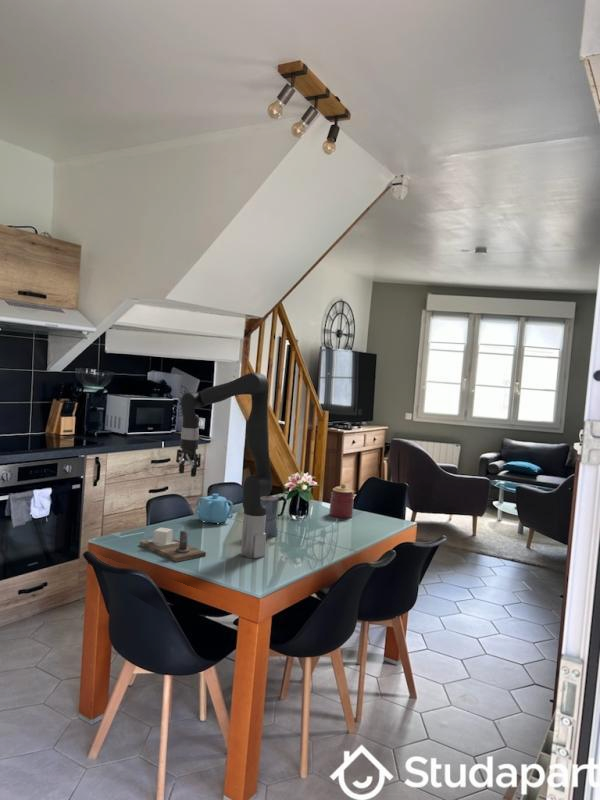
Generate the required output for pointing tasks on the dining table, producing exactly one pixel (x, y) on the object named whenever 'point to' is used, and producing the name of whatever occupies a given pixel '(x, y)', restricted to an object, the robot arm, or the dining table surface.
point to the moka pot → (271, 513)
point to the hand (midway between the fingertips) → (187, 474)
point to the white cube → (163, 535)
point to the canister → (341, 502)
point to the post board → (174, 548)
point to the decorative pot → (214, 509)
